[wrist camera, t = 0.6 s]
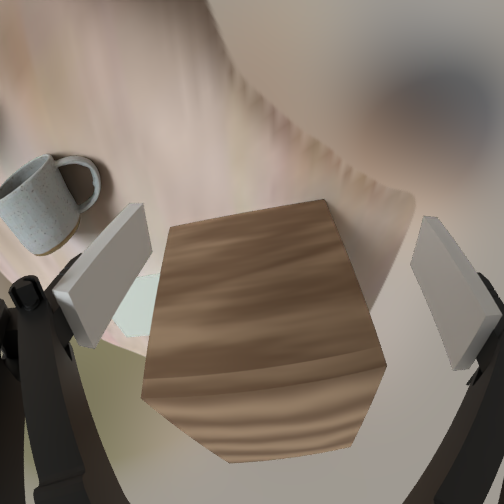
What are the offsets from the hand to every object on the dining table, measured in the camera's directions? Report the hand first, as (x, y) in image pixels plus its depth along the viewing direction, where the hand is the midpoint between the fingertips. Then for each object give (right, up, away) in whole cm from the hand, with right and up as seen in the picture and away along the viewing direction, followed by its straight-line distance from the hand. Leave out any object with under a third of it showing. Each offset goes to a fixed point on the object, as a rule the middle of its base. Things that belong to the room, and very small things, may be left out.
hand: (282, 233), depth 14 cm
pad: (-16, -8, +27) cm, 32 cm away
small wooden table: (0, -6, +26) cm, 27 cm away
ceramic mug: (-21, +7, +14) cm, 26 cm away
